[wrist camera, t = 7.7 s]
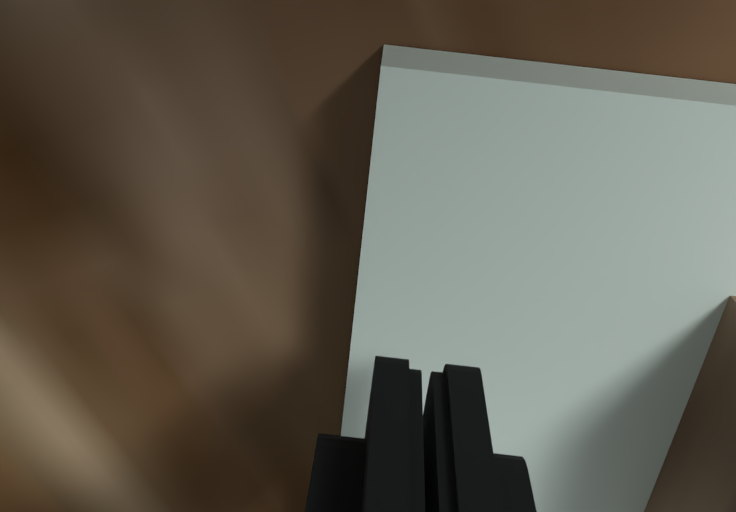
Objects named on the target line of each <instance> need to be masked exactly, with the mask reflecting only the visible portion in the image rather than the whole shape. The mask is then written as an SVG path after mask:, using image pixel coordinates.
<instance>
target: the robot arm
mask: <svg viewBox="0 0 736 512" xmlns="http://www.w3.org/2000/svg"><path fill="white" fill-rule="evenodd" d="M305 512H537V511H536V506H535V501H534V497H533V492H532V487H531V482H530V477H529V472H528V468H527V464H526V461H525V459H524V458H523V457H522V456H513V455H505V454H496V453H493V447H492V440H491V434H490V427H489V420H488V414H487V407H486V401H485V394H484V387H483V381H482V374H481V370H480V368H479V367H471V366H462V365H453V364H445V366H444V368H443V372H434V371H432V372H431V374H430V378H429V384H428V389H427V395H426V401H425V406H424V412H423V405H422V372H421V370H417V369H409V359H400V358H392V357H383V356H375V361H374V369H373V376H372V384H371V392H370V400H369V407H368V415H367V423H366V430H365V438H355V437H346V436H337V435H328V434H320V433H319V434H318V439H317V444H316V450H315V456H314V462H313V468H312V474H311V480H310V486H309V492H308V498H307V504H306V510H305Z"/></svg>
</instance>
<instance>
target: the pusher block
mask: <svg viewBox="0 0 736 512" xmlns="http://www.w3.org/2000/svg"><path fill="white" fill-rule="evenodd" d="M644 512H736V296H729V299H728V301H727V304H726V306H725V309H724V311H723V314H722V316H721V319H720V321H719V324H718V326H717V329H716V332H715V334H714V337H713V339H712V342H711V344H710V347H709V349H708V352H707V354H706V357H705V359H704V362H703V364H702V367H701V369H700V372H699V374H698V377H697V379H696V382H695V384H694V387H693V389H692V392H691V395H690V397H689V400H688V402H687V405H686V407H685V410H684V412H683V415H682V417H681V420H680V422H679V425H678V427H677V430H676V432H675V435H674V437H673V440H672V442H671V445H670V447H669V450H668V452H667V455H666V458H665V460H664V463H663V465H662V468H661V470H660V473H659V475H658V478H657V480H656V483H655V485H654V488H653V490H652V493H651V495H650V498H649V500H648V503H647V505H646V508H645V510H644Z"/></svg>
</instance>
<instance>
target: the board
mask: <svg viewBox="0 0 736 512" xmlns="http://www.w3.org/2000/svg"><path fill="white" fill-rule="evenodd" d="M729 296H736V84H730V83H721V82H712V81H703V80H694V79H686V78H677V77H668V76H659V75H650V74H641V73H632V72H624V71H615V70H606V69H597V68H588V67H579V66H570V65H562V64H553V63H544V62H535V61H526V60H517V59H508V58H500V57H491V56H482V55H473V54H464V53H455V52H447V51H438V50H429V49H420V48H411V47H402V46H393V45H385V44H384V47H383V54H382V61H381V70H380V79H379V88H378V97H377V106H376V116H375V125H374V134H373V143H372V152H371V162H370V171H369V180H368V189H367V198H366V208H365V217H364V226H363V235H362V244H361V254H360V263H359V272H358V281H357V290H356V300H355V309H354V318H353V327H352V337H351V346H350V355H349V364H348V373H347V383H346V392H345V401H344V410H343V419H342V429H341V436H346V437H355V438H365V430H366V423H367V415H368V407H369V400H370V392H371V384H372V376H373V369H374V361H375V356H383V357H392V358H400V359H409V369H417V370H421V372H422V405H423V412H424V406H425V401H426V395H427V389H428V384H429V378H430V374H431V372H432V371H434V372H443V368H444V366H445V364H453V365H462V366H471V367H479V368H480V370H481V374H482V381H483V387H484V394H485V401H486V407H487V414H488V420H489V427H490V434H491V440H492V447H493V453H496V454H505V455H513V456H522V457H523V458H524V459H525V461H526V464H527V468H528V472H529V477H530V482H531V487H532V492H533V497H534V501H535V506H536V511H537V512H644V510H645V508H646V505H647V503H648V500H649V498H650V495H651V493H652V490H653V488H654V485H655V483H656V480H657V478H658V475H659V473H660V470H661V468H662V465H663V463H664V460H665V458H666V455H667V452H668V450H669V447H670V445H671V442H672V440H673V437H674V435H675V432H676V430H677V427H678V425H679V422H680V420H681V417H682V415H683V412H684V410H685V407H686V405H687V402H688V400H689V397H690V395H691V392H692V389H693V387H694V384H695V382H696V379H697V377H698V374H699V372H700V369H701V367H702V364H703V362H704V359H705V357H706V354H707V352H708V349H709V347H710V344H711V342H712V339H713V337H714V334H715V332H716V329H717V326H718V324H719V321H720V319H721V316H722V314H723V311H724V309H725V306H726V304H727V301H728V299H729Z"/></svg>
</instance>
